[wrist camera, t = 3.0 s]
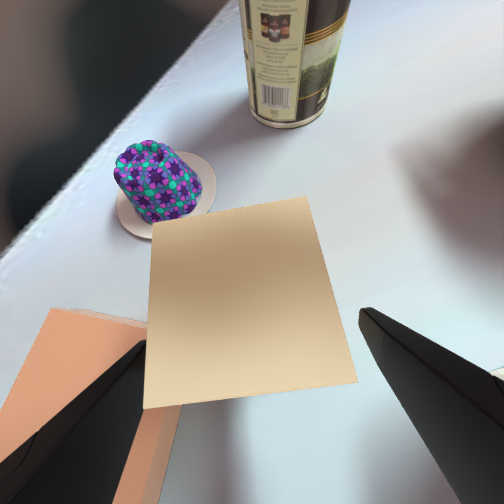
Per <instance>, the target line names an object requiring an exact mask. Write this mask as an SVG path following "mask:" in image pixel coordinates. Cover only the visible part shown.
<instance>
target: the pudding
mask: <svg viewBox="0 0 504 504" xmlns="http://www.w3.org/2000/svg"><path fill="white" fill-rule="evenodd" d="M115 164H116V168H115V169H114V178H115V180H116V182H117V184H118V185H119V186H120V189H119V192H118V196H117V201H116V209H117V215H118V217H119V220H120V222H121V223H122V225H123V226H124V227H125V228H126V229H127V230H128V231H129V232H131V233H133V234H134V235H136V236H139V237H143V238H148V239H152V229H153V225H151V224H148V223H155V222H159V221H167V220H172V219H178V218H180V217H181V215H183V214H188V213H190V212H191V211H192V210H193V209H194V208H195V206H196V198H197V197H198V196H199V195H200V194H201V190H202V195H201V199H200V201H199V203H198V205H197V206H196V208H195V209H194V210H193V211H192V212H191V213H190V214H189V215H188V216H187V217H190V216H195V215H201V214H206V213H207V211H208V210H209V208H210V207H211V205H212V202H213V200H214V197H215V194H216V186H217V183H216V176H215V173H214V171H213V169H212V167H211V166H210V164H209V163H208V162H207V161H206V160H204V159H203V158H201V157H200V156H198V155H195V154H193V153H189V152H184V151H173V150H172V149H171V148H170V147H169V146H167V145H165V144H163V143H157V142H155V141H153V140H146V141H143V142H141V143H140V144H133V145H130V146H129V147H128V148H127V149H126V151H125V152H124V153H122V154H120V155H119V156H118V158H117V160H116V163H115ZM195 173H196V174H197V175H198V176H199V178H200V180H201V183H202V187H201V184H200V183H199V182H198V181H197V180H196V178H197V175H196V174H195ZM134 208H135V209H136V211H137V212H138V213H140V214H141V216H142V217H143V219H144V220H145V221H147V222H148V223H146V222H144V221H143V220H142V219H140V218H139V216H138V215H137V214H136V211H135V209H134Z"/></svg>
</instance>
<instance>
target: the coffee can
mask: <svg viewBox="0 0 504 504" xmlns="http://www.w3.org/2000/svg"><path fill="white" fill-rule="evenodd" d="M350 2H351V0H239V9H240V18H241V27H242V36H243V45H244V54H245V63H246V72H247V81H248V90H249V100H250V103H249V107H250V110H251V113H252V115H253V116H254V117H255V118H256V119H257V120H258V121H259V122H261V123H262V124H264V125H267V126H270V127H275V128H295V127H298V126H302V125H305V124H307V123H309V122H311V121H313V120H315V119H316V118H317V117H318V116H319V115H320V114H321V113H322V112H323V110H324V109H325V107H326V104H327V97H328V93H329V89H330V84H331V80H332V76H333V72H334V67H335V63H336V59H337V55H338V51H339V46H340V42H341V38H342V34H343V30H344V26H345V22H346V17H347V13H348V9H349V5H350Z"/></svg>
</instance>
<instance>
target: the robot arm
mask: <svg viewBox="0 0 504 504" xmlns="http://www.w3.org/2000/svg"><path fill="white" fill-rule="evenodd" d="M358 324H359V328H360V330H361V332H362V334H363V336H364V338H365V341H366V343H367V345H368V347H369V349H370V351H371V353H372V355H373V357H374V359H375V361H376V363H377V365H378V367H379V369H380V370H381V372H382V374H383V375H384V377H385V379H386V380H387V382H388V384H389V385H390V387H391V388H392V390H393V392H394V393H395V395H396V397H397V398H398V400H399V402H400V403H401V405H402V407H403V408H404V410H405V411H406V413H407V415H408V416H409V418H410V420H411V421H412V423H413V425H414V426H415V428H416V430H417V431H418V433H419V434H420V436H421V438H422V439H423V441H424V443H425V444H426V446H427V448H428V449H429V451H430V453H431V454H432V456H433V457H434V459H435V461H436V462H437V464H438V466H439V467H440V469H441V471H442V472H443V474H444V476H445V477H446V479H447V481H448V482H449V484H450V485H451V487H452V489H453V490H454V492H455V494H456V495H457V497H458V499H459V500H460V502H461V504H504V380H502V379H500V378H498V377H496V376H494V375H491V374H490V373H489V372H487V371H485V370H484V369H482V368H480V367H478V366H476V365H475V364H473V363H471V362H469V361H467V360H466V359H464V358H462V357H460V356H458V355H457V354H455V353H453V352H451V351H449V350H448V349H446V348H444V347H442V346H440V345H439V344H437V343H435V342H433V341H431V340H430V339H428V338H426V337H424V336H422V335H421V334H419V333H417V332H415V331H413V330H412V329H410V328H408V327H406V326H404V325H403V324H401V323H399V322H397V321H395V320H394V319H392V318H390V317H388V316H386V315H385V314H383V313H381V312H379V311H377V310H376V309H374V308H371V307H366V308H361V309H360V311H359V321H358ZM146 342H147V339H144V340H141V341H139V342H138V343H137V344H136V345H135V346H133V347H132V348H131V349H130V350H129V351H128V352H127V353H125V354H124V355H123V356H122V357H121V358H120V359H119V360H117V361H116V362H115V363H114V364H113V365H112V366H111V367H109V368H108V369H107V370H106V371H105V372H104V373H103V374H101V375H100V376H99V377H98V378H97V379H96V380H95V381H93V382H92V383H91V384H90V385H89V386H88V387H87V388H85V389H84V390H83V391H82V392H81V393H80V394H79V395H78V396H76V397H75V398H74V399H73V400H72V401H71V402H70V403H68V404H67V405H66V406H65V407H64V408H63V409H62V410H60V411H59V412H58V413H57V414H56V415H55V416H54V417H52V418H51V419H50V420H49V421H48V422H47V423H46V424H44V425H43V426H42V427H41V428H40V429H39V431H36V432H35V433H34V434H33V435H32V436H31V437H30V438H28V439H27V440H26V441H25V442H24V443H23V444H22V445H20V446H19V447H18V448H17V449H16V450H15V451H13V452H12V453H11V454H10V455H9V456H8V457H6V458H5V459H4V460H3V461H2V462H1V463H0V504H112V503H113V500H114V497H115V494H116V491H117V488H118V485H119V482H120V479H121V476H122V473H123V471H124V468H125V465H126V462H127V459H128V456H129V453H130V450H131V447H132V444H133V441H134V438H135V435H136V432H137V429H138V426H139V423H140V420H141V417H142V415H143V412H144V409H143V399H144V380H145V361H146Z"/></svg>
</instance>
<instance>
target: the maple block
mask: <svg viewBox="0 0 504 504" xmlns="http://www.w3.org/2000/svg"><path fill="white" fill-rule="evenodd" d="M351 383H358V379H357V376H356V372H355V369H354V365H353V361H352V358H351V354H350V351H349V347H348V344H347V340H346V336H345V333H344V329H343V326H342V322H341V318H340V315H339V311H338V308H337V304H336V301H335V297H334V293H333V290H332V286H331V283H330V279H329V276H328V272H327V268H326V265H325V261H324V258H323V254H322V250H321V247H320V243H319V240H318V236H317V233H316V229H315V225H314V222H313V218H312V215H311V211H310V208H309V204H308V200H307V197H306V196H304V197H298V198H293V199H287V200H281V201H276V202H270V203H264V204H258V205H253V206H247V207H241V208H235V209H230V210H224V211H218V212H213V213H207V214H201V215H195V216H190V217H184V218H178V219H172V220H167V221H161V222H155V223H153V229H152V248H151V267H150V285H149V304H148V323H147V342H146V361H145V380H144V399H143V409H149V408H157V407H165V406H173V405H181V404H189V403H197V402H205V401H213V400H222V399H230V398H238V397H246V396H254V395H262V394H270V393H278V392H286V391H294V390H303V389H311V388H319V387H327V386H335V385H343V384H351Z"/></svg>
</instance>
